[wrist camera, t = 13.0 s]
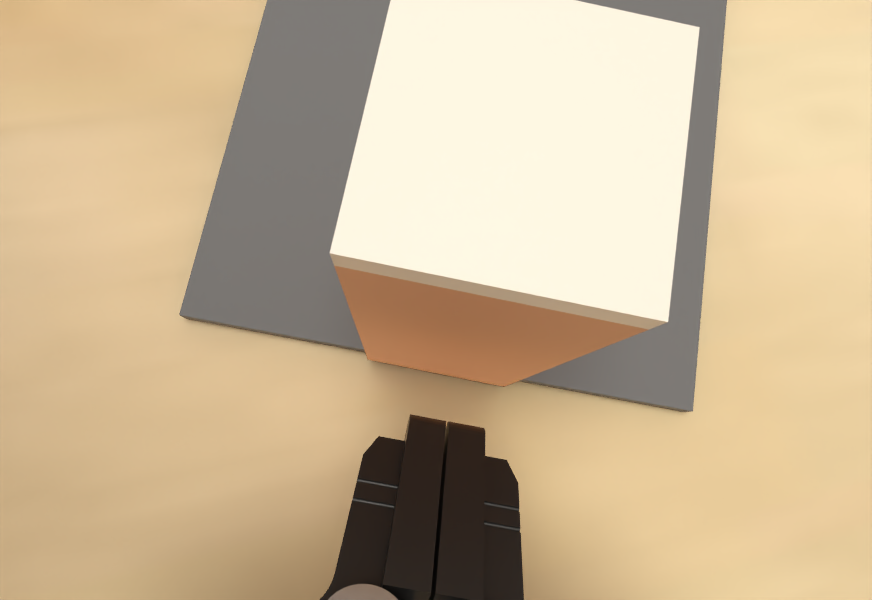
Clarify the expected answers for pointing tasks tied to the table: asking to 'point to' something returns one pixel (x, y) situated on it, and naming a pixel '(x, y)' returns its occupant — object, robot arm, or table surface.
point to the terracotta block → (515, 184)
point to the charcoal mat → (327, 176)
